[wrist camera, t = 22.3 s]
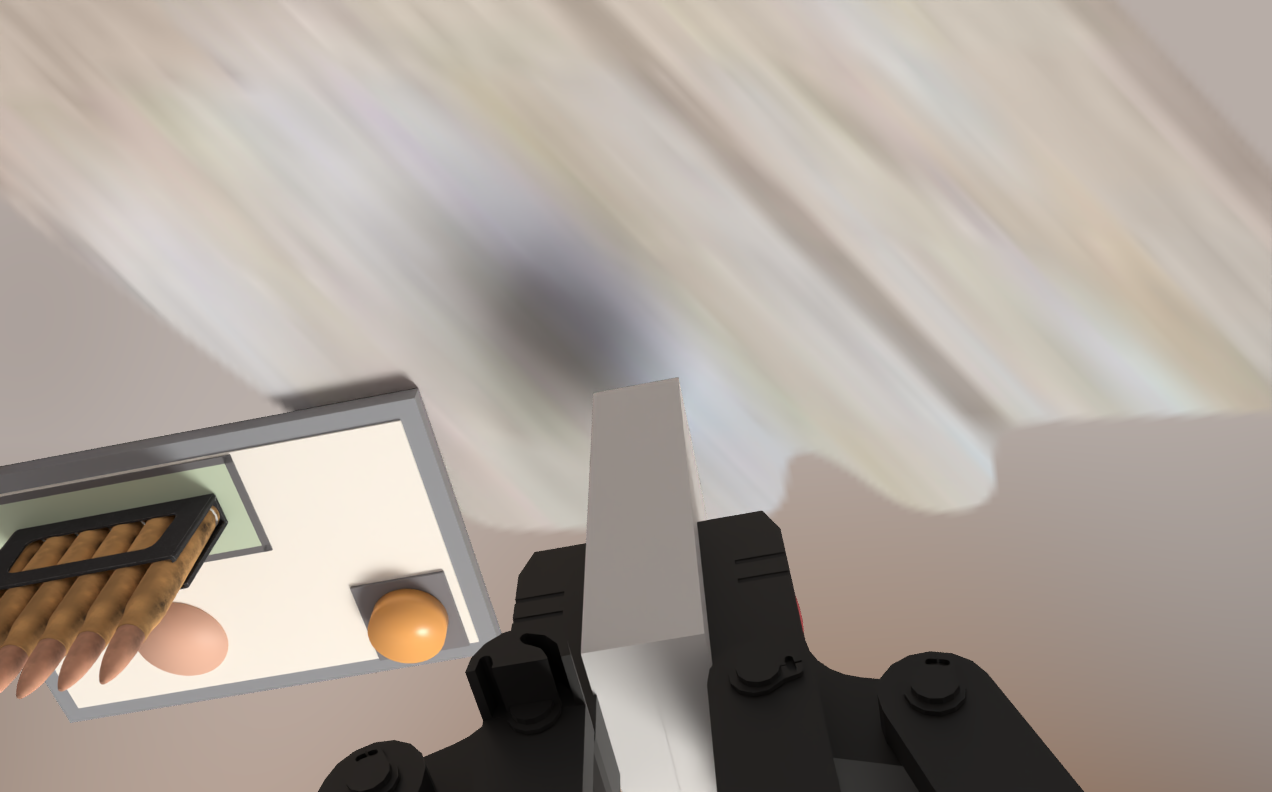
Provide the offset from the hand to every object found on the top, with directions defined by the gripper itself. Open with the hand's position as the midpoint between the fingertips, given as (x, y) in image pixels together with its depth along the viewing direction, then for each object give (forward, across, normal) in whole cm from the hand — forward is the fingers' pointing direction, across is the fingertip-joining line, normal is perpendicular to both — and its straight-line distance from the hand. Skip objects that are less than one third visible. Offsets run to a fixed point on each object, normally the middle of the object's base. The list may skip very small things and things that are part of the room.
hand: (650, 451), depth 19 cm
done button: (+28, -17, -24) cm, 41 cm away
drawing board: (+29, -26, -20) cm, 44 cm away
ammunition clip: (+28, -29, -16) cm, 44 cm away
